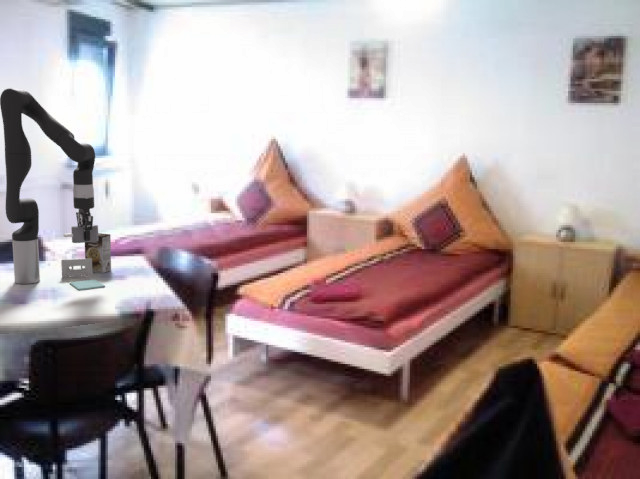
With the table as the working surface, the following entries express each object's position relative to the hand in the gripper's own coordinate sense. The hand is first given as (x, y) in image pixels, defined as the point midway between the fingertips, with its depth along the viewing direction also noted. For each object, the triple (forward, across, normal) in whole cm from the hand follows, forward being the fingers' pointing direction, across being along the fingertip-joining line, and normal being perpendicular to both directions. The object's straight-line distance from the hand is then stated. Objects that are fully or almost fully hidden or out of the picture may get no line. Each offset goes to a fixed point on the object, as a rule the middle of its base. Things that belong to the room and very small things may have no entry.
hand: (85, 239), depth 256 cm
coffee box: (+19, -23, +12) cm, 32 cm away
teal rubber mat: (+18, 0, 0) cm, 18 cm away
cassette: (+19, -16, +1) cm, 25 cm away
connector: (+1, 0, -1) cm, 2 cm away
